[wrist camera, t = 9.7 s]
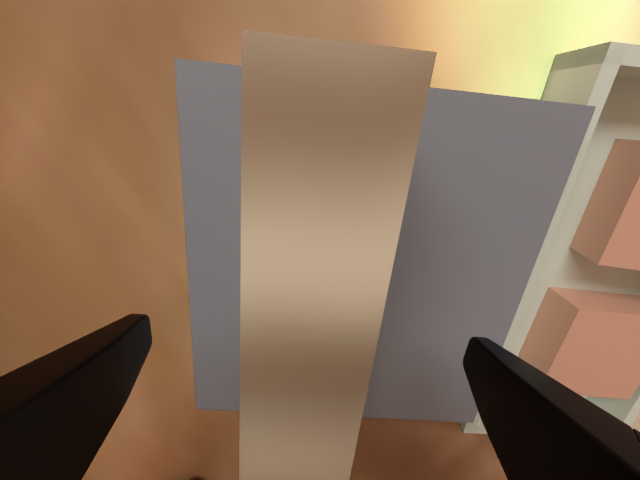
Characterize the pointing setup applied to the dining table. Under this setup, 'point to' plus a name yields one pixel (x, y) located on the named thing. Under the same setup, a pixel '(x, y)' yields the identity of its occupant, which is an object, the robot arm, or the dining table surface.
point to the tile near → (614, 211)
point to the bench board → (413, 244)
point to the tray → (584, 192)
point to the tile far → (587, 341)
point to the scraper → (318, 239)
